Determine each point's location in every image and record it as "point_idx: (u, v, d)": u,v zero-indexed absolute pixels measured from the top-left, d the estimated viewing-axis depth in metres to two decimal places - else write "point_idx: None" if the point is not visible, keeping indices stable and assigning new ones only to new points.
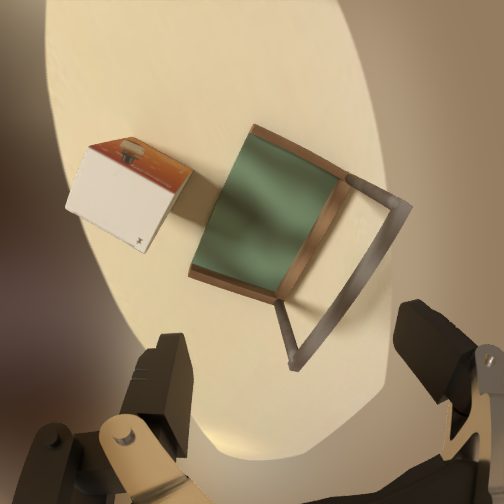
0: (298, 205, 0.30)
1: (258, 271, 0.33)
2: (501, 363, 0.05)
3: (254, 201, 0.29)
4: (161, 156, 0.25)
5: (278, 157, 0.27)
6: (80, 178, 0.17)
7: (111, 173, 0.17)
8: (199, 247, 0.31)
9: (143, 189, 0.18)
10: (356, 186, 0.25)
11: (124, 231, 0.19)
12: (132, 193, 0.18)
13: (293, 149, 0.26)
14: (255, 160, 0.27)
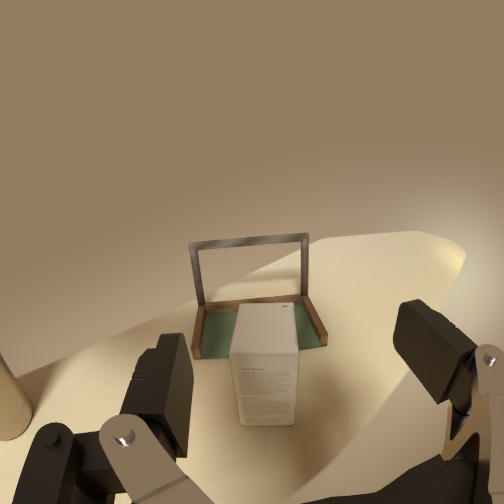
0: (235, 320, 0.42)
1: None
2: (501, 363, 0.05)
3: None
4: None
5: (209, 338, 0.38)
6: (260, 348, 0.21)
7: (243, 331, 0.23)
8: (303, 345, 0.35)
9: (245, 314, 0.25)
10: (201, 289, 0.43)
11: (284, 314, 0.25)
12: (252, 317, 0.25)
13: (198, 328, 0.38)
14: (218, 346, 0.36)
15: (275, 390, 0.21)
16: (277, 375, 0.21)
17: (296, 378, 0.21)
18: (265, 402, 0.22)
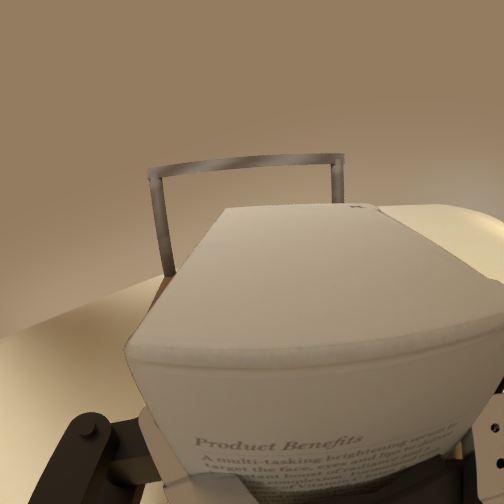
0: None
1: None
2: None
3: None
4: None
5: None
6: (347, 314, 0.03)
7: (231, 250, 0.05)
8: None
9: (239, 218, 0.08)
10: (168, 247, 0.25)
11: (368, 215, 0.07)
12: (264, 221, 0.07)
13: None
14: None
15: (368, 490, 0.04)
16: (410, 446, 0.03)
17: (466, 432, 0.03)
18: None
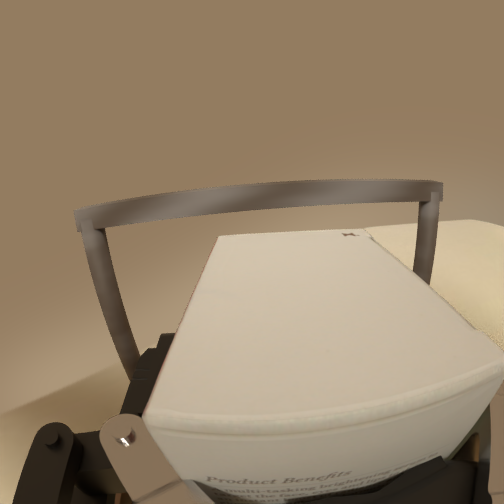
0: None
1: None
2: None
3: None
4: None
5: None
6: (339, 383, 0.03)
7: (229, 301, 0.05)
8: None
9: (234, 253, 0.08)
10: (129, 349, 0.13)
11: (360, 248, 0.08)
12: (258, 258, 0.07)
13: None
14: None
15: None
16: (394, 472, 0.03)
17: None
18: None
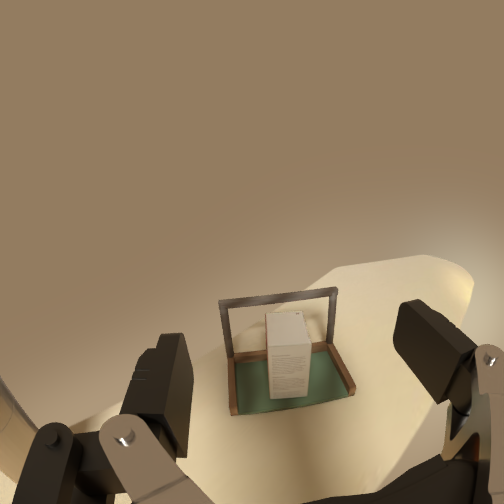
0: (265, 371, 0.41)
1: (321, 364, 0.42)
2: (501, 363, 0.05)
3: None
4: None
5: (243, 393, 0.37)
6: (286, 342, 0.32)
7: (273, 332, 0.35)
8: (333, 397, 0.34)
9: (271, 320, 0.37)
10: (230, 343, 0.42)
11: (298, 319, 0.37)
12: (276, 322, 0.37)
13: (232, 384, 0.37)
14: (253, 402, 0.35)
15: (295, 370, 0.33)
16: (298, 358, 0.33)
17: (309, 360, 0.33)
18: (288, 379, 0.34)
